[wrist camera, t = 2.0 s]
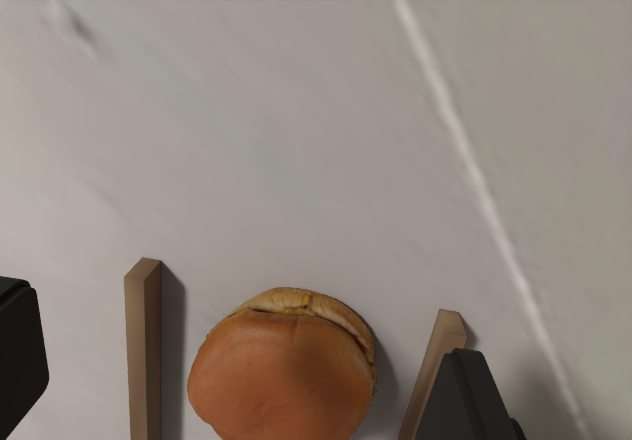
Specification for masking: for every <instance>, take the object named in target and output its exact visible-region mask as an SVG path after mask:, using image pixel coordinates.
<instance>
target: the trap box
mask: <svg viewBox="0 0 632 440" xmlns="http://www.w3.org/2000/svg"><path fill="white" fill-rule="evenodd" d="M124 290H125V313H126V337H127V361H128V385H129V408H130V432H131V440H161V261H160V260H154V259H148V258H143V257H142V258H141V259H140V260H139V262H138V263H137V264H136V265H135V266H134V267H133V268H132V269H131V270H130V271H129V272H128V273H127V274H126V275H125V276H124ZM466 339H467V334H466V332H465V329H464V326H463V323H462V320H461V318H460V315H459V312H454V311H448V310H442V309H440V310H439V313H438V316H437V319H436V322H435V325H434V329H433V332H432V335H431V338H430V341H429V344H428V347H427V350H426V354H425V357H424V360H423V363H422V366H421V369H420V372H419V375H418V378H417V382H416V385H415V388H414V391H413V394H412V397H411V400H410V403H409V407H408V410H407V413H406V416H405V419H404V422H403V425H402V428H401V432H400V435H399V438H398V440H415V436H416V432H417V429H418V426H419V424H420V421H421V418H422V415H423V412H424V409H425V406H426V404H427V401H428V398H429V395H430V392H431V389H432V386H433V384H434V381H435V378H436V375H437V372H438V369H439V366H440V363H441V361H442V358H443V356H444V354H445V353H451V352H452V350H453V349H454V348H461V349H463V348H464V345H465V342H466Z"/></svg>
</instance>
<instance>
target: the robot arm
mask: <svg viewBox="0 0 632 440" xmlns="http://www.w3.org/2000/svg"><path fill="white" fill-rule="evenodd" d="M48 382H49V371H48V364H47V358H46V351H45V345H44V338H43V332H42V325H41V319H40V312H39V305H38V299H37V293H36V290H35V289H34V288H31V286H30V284H29V282H28V281H26V280H22V279H15V278H9V277H3V276H0V440H6V439H7V437H8V436H9V435H10V434H11V432H12V431H13V430H14V429H15V427H16V426H17V425H18V424H19V422H20V421H21V420H22V419H23V418H24V416H25V415H26V414H27V413H28V411H29V410H30V409H31V408H32V406H33V405H34V404H35V403H36V402H37V400H38V399H39V398H40V397H41V395H42V394H43V393H44V391H45V390H46V388H47V385H48ZM415 440H526V438H525V436H524V433H523V431H522V429H521V427H520V425H519V424H518V422H517V421H516V420H515V419H513V418H509V415H508V413H507V410H506V408H505V406H504V403H503V401H502V398H501V396H500V394H499V391H498V389H497V386H496V384H495V382H494V379H493V377H492V374H491V372H490V370H489V367H488V365H487V362H486V360H485V357H484V355H483V354H482V353H481V352H480V351H474V350H468V349H461V348H454V349H453V350H452V352H451V353H445V354H444V356H443V358H442V361H441V363H440V366H439V369H438V372H437V375H436V378H435V381H434V384H433V386H432V389H431V392H430V395H429V398H428V401H427V404H426V406H425V409H424V412H423V415H422V418H421V421H420V424H419V426H418V429H417V432H416V436H415Z"/></svg>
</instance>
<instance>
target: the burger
mask: <svg viewBox="0 0 632 440" xmlns="http://www.w3.org/2000/svg"><path fill="white" fill-rule="evenodd" d="M374 350H375V348H374V344H373V339H372V336H371V333H370V331H369V329H368V328H367V327H366V325H365V324H364V323H363V322H362V321H361V319H360V318H359V317H358V316H357V315H356V314H355V313H354V312H353V311H352V310H351V309H349V308H348V307H347V306H345V305H344V304H343V303H341V302H339V301H337V300H335V299H334V298H332V297H329V296H326V295H323V294H319V293H316V292H313V291H310V290H305V289H299V288H296V289H294V288H289V287H281V288H274V289H271V290H269V291H266V292H263V293H261V294H260V295H258V296H256V297H254V298H252V299H250V300H249V301H247V302H245V303H244V304H242V305H241V306H239V307H238V308H236V309H235V310H234V311H232V312H231V313H230V314H229V315H228V316H226V317H225V318H224V319H223V320H222V321H221V322H219V323H218V324H217V325H216V326H215V327H214V328H213V329H211V330H210V332H209V334H207V337H206V339H205V341H204V343H203V344H202V346H201V347H200V349H199V350H198V354H197V356H196V358H195V361H194V363H193V365H192V368H191V371H190V374H189V378H188V384H187V392H188V398H189V402H190V403H191V405H192V407H193V408H194V410H195V412H196V414H197V415H198V416H199V417H200V418H201V419H202V420H203V421H204V422H206V423H208V424H210V425H211V426H212V427H213V429H214V430H215V432H216V433H217V434H218V435H219V436H220V437H221V438H222V439H223V440H347V439H349V438H350V437H351V436H352V435H353V434H354V433H355V431H356V430H357V428H358V427H359V425H360V424H361V422H362V421H363V419H364V418H365V416H366V414H367V411H368V409H369V406H370V403H371V401H372V396H374V394H375V393H376V392H377V390H375V386H376V383H377V376H376V370H375V367H374Z"/></svg>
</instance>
